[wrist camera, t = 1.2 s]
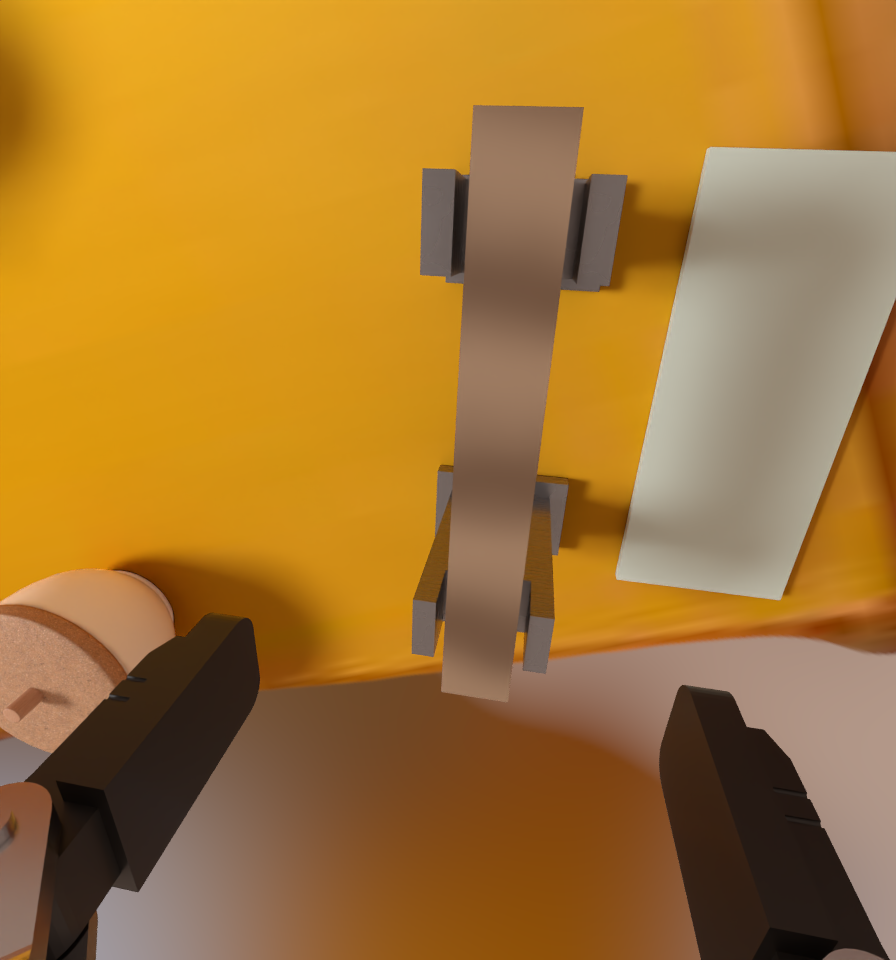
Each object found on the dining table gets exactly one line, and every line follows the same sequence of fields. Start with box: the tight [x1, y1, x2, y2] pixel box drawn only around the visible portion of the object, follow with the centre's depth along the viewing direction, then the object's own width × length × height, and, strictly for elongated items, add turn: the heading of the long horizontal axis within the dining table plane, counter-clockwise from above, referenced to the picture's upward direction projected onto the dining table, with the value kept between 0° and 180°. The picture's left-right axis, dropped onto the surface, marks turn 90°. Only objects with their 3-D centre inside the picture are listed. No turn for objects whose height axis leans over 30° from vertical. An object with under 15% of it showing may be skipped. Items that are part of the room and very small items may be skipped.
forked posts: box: [412, 168, 628, 674], centre depth 25 cm, size 21×8×12 cm, turn 178°
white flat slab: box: [615, 147, 896, 600], centre depth 29 cm, size 24×10×1 cm, turn 178°
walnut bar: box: [441, 105, 584, 702], centre depth 20 cm, size 22×3×3 cm, turn 178°
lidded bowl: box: [0, 569, 175, 753], centre depth 38 cm, size 13×13×11 cm
